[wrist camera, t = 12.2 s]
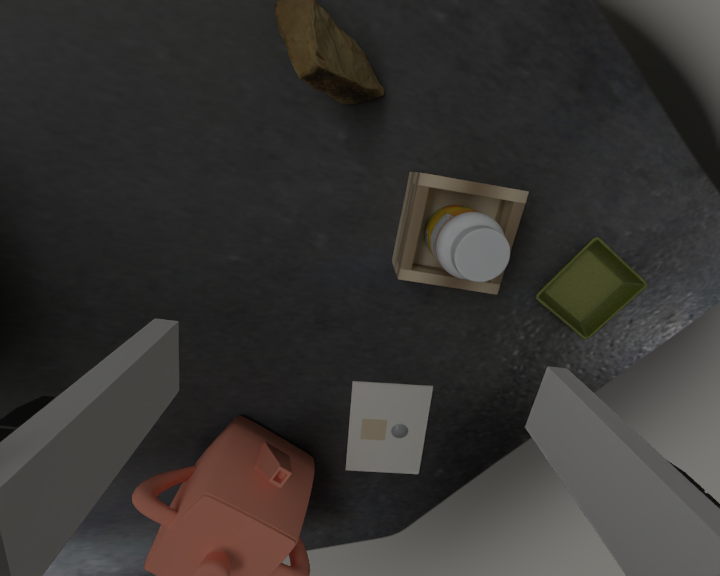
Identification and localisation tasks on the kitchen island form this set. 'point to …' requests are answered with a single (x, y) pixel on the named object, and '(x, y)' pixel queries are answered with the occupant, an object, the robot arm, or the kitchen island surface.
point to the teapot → (232, 508)
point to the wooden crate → (430, 196)
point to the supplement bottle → (467, 243)
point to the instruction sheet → (387, 427)
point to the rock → (325, 53)
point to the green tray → (591, 288)
